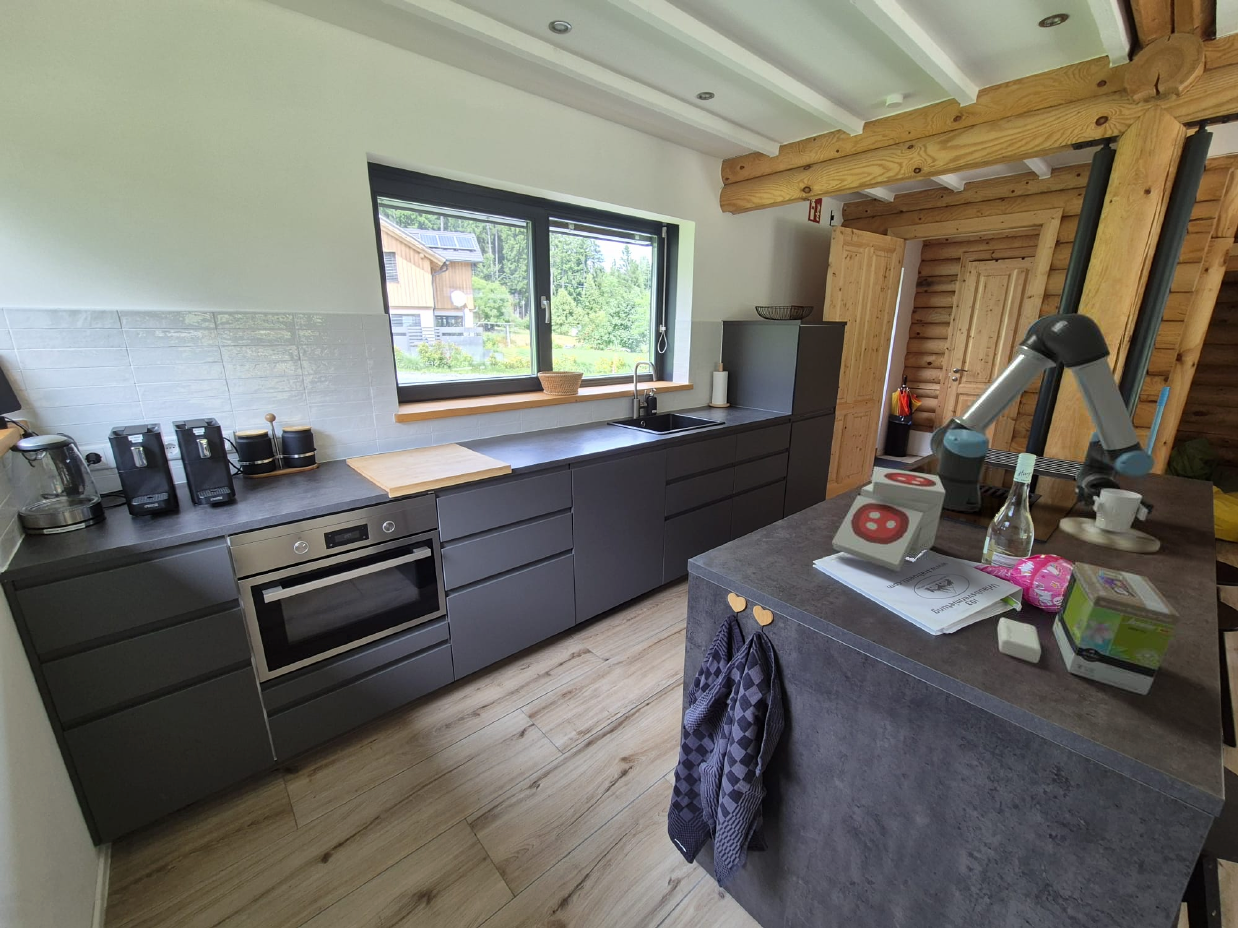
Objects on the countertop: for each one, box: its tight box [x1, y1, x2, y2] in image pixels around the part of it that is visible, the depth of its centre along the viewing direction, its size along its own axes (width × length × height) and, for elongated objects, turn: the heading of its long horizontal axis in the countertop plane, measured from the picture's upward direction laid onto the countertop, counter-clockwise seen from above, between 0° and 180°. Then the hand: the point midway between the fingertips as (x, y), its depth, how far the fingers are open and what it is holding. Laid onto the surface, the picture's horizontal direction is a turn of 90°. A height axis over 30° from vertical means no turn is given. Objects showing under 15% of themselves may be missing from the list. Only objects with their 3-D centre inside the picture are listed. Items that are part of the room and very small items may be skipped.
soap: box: [996, 617, 1042, 664], centre depth 89 cm, size 9×6×3 cm, turn 146°
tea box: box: [1052, 561, 1181, 696], centre depth 84 cm, size 15×10×15 cm, turn 148°
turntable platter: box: [1058, 516, 1161, 554], centre depth 137 cm, size 20×20×2 cm
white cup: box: [1095, 489, 1143, 532], centre depth 135 cm, size 8×8×10 cm
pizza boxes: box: [831, 466, 946, 573], centre depth 123 cm, size 19×30×18 cm, turn 133°
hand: (1121, 511), depth 131 cm, fingers open, 8 cm apart
